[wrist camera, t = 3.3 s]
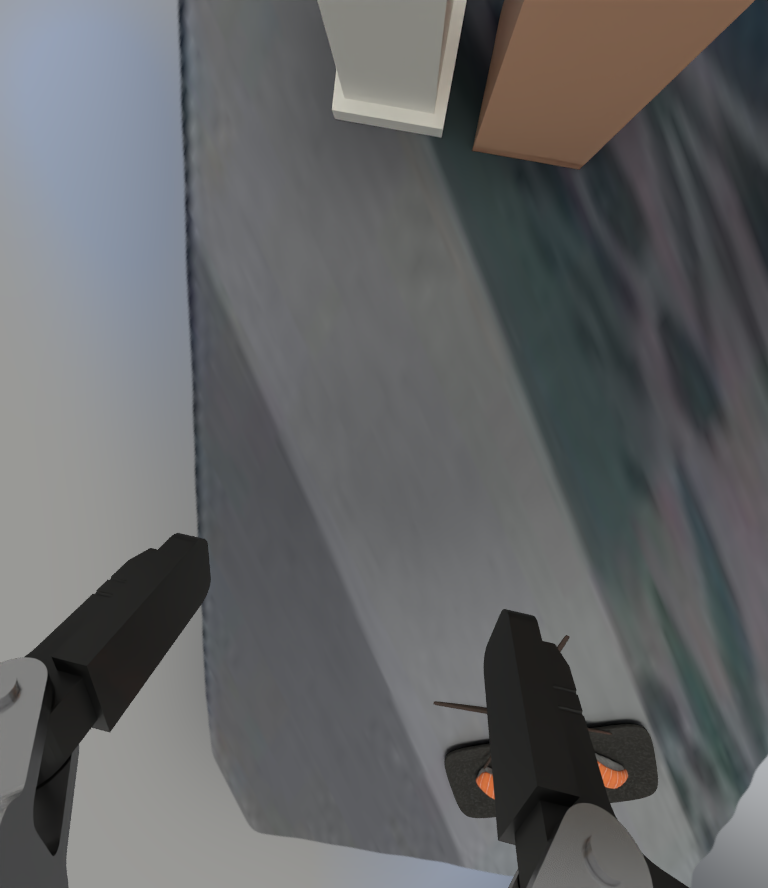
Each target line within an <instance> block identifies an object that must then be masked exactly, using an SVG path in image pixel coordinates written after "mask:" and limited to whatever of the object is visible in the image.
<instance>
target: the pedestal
mask: <svg viewBox="0 0 768 888" xmlns="http://www.w3.org/2000/svg"><path fill="white" fill-rule="evenodd" d="M317 1H318V5H319V8H320V12H321V16H322V19H323V23H324V26H325V30H326V33H327V37H328V41H329V44H330V48H331V51H332V55H333V59H334V62H335V66H336V77H335V86H334V95H333V104H332V112H333V114H334V117H335V119H338V120H343V121H349V122H355V123H361V124H366V125H372V126H378V127H383V128H389V129H395V130H400V131H406V132H412V133H417V134H423V135H429V136H435V137H440V138H442V132H443V127H444V121H445V116H446V110H447V105H448V100H449V94H450V89H451V83H452V78H453V72H454V67H455V61H456V56H457V51H458V45H459V40H460V34H461V29H462V23H463V18H464V12H465V7H466V2H467V0H317Z"/></svg>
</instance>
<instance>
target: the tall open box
mask: <svg viewBox="0 0 768 888" xmlns="http://www.w3.org/2000/svg"><path fill="white" fill-rule="evenodd" d="M754 1H755V0H504V3H503V7H502V10H501V14H500V18H499V23H498V28H497V33H496V38H495V43H494V48H493V53H492V57H491V62H490V67H489V72H488V77H487V82H486V87H485V92H484V96H483V101H482V106H481V111H480V116H479V121H478V126H477V130H476V135H475V140H474V145H473V150H472V151H477V152H483V153H488V154H494V155H500V156H506V157H511V158H517V159H523V160H528V161H534V162H540V163H545V164H551V165H557V166H562V167H568V168H574V169H580V168H581V167H582V166H583V165H584V164H585V163H587V162H588V161H589V160H590V159H591V158H592V157H593V156H594V155H595V154H596V153H597V152H598V151H599V150H600V149H601V148H602V147H603V146H604V145H605V144H606V143H607V142H608V141H609V140H610V139H611V138H612V137H614V136H615V135H616V134H617V133H618V132H619V131H620V130H621V129H622V128H623V127H624V126H625V125H626V124H627V123H628V122H629V121H630V120H631V119H632V118H633V117H634V116H635V115H636V114H637V113H638V112H639V111H640V110H642V109H643V108H644V107H645V106H646V105H647V104H648V103H649V102H650V101H651V100H652V99H653V98H654V97H655V96H656V95H657V94H658V93H659V92H660V91H661V90H662V89H663V88H664V87H665V86H666V85H667V84H669V83H670V82H671V81H672V80H673V79H674V78H675V77H676V76H677V75H678V74H679V73H680V72H681V71H682V70H683V69H684V68H685V67H686V66H687V65H688V64H689V63H690V62H691V61H692V60H693V59H694V58H696V57H697V56H698V55H699V54H700V53H701V52H702V51H703V50H704V49H705V48H706V47H707V46H708V45H709V44H710V43H711V42H712V41H713V40H714V39H715V38H716V37H717V36H718V35H719V34H720V33H721V32H723V31H724V30H725V29H726V28H727V27H728V26H729V25H730V24H731V23H732V22H733V21H734V20H735V19H736V18H737V17H738V16H739V15H740V14H741V13H742V12H743V11H744V10H745V9H746V8H747V7H748V6H750V5H751V4H752V3H753V2H754Z"/></svg>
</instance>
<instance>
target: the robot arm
mask: <svg viewBox="0 0 768 888" xmlns="http://www.w3.org/2000/svg"><path fill="white" fill-rule="evenodd" d="M210 581H211V576H210V565H209V553H208V543H207V541H206V540H205V539H202V538H198V537H194V536H189V535H185V534H180V533H176V534H174V535H172V536H171V537H170V538H169V539H168V540H167V541H166V542H165V543H164V544H163V545H162V546H161V547H160V548H159V549H158V550H156V549H152V548H150V549H148V550H146V551H144V552H143V553H141V554H139V555H137V556H135V557H134V558H132V559H130V560H128V561H127V562H126V563H125V564H124V565H123V566H122V567H121V568H120V569H119V570H118V571H117V572H116V573H114V574H113V575H112V576H111V579H110V580H107V581H106V582H105V583H104V584H103V585H102V586H101V587H100V588H99V589H98V590H97V592H96V593H95V594H92V595H91V596H90V597H89V598H88V599H87V600H86V601H85V602H84V603H83V604H82V605H81V606H80V607H79V608H78V609H76V610H75V611H74V612H73V613H72V614H71V615H70V616H69V617H68V618H67V619H66V620H65V621H64V622H63V623H62V624H60V625H59V626H58V627H57V628H56V629H55V630H54V631H53V632H52V633H51V634H50V635H49V636H48V637H47V638H46V639H45V640H44V641H43V642H41V643H40V644H39V645H38V646H37V647H36V648H35V649H34V650H33V651H32V652H30V653H29V654H28V655H26V656H25V657H23V658H15V659H11V660H7V661H4V662H1V663H0V888H68V878H67V870H66V855H67V854H66V853H67V845H68V837H69V829H70V821H71V812H72V803H73V796H74V788H75V779H76V772H77V764H78V755H79V743H80V742H81V740H82V739H83V738H84V737H85V735H86V734H87V732H88V731H89V730H90V729H91V727H92V728H96V729H99V730H104V731H107V732H110V731H111V730H112V729H113V727H114V726H115V724H116V723H117V722H118V720H119V719H120V717H121V716H122V715H123V713H124V712H125V710H126V709H127V708H128V706H129V705H130V703H131V702H132V701H133V699H134V698H135V696H136V695H137V694H138V692H139V691H140V689H141V688H142V687H143V685H144V684H145V682H146V681H147V680H148V678H149V677H150V675H151V674H152V673H153V671H154V670H155V668H156V667H157V666H158V664H159V663H160V661H161V660H162V659H163V657H164V655H165V654H166V653H167V652H168V650H169V649H170V647H171V646H172V645H173V643H174V642H175V640H176V639H177V638H178V636H179V635H180V633H181V632H182V630H183V629H184V628H185V626H186V625H187V624H188V622H189V621H190V619H191V618H192V617H193V615H194V614H195V612H196V611H197V610H198V608H199V607H200V605H201V604H202V603H203V601H204V599H205V597H206V595H207V593H208V590H209V587H210ZM484 680H485V692H486V703H487V715H488V727H489V739H490V750H491V762H492V774H493V786H494V797H495V809H496V821H497V833H498V841H502V842H506V843H509V844H513V845H516V853H517V862H518V870H517V871H516V873H515V875H514V877H513V879H512V881H511V883H510V885H509V887H508V888H689V887H687V886H686V885H684V884H683V883H681V882H680V881H678V880H677V879H675V878H674V877H672V876H671V875H669V874H668V873H666V872H665V871H663V870H662V869H660V868H659V867H658V866H656V865H655V864H654V863H652V862H651V861H650V860H649V859H648V858H647V857H646V856H645V855H644V854H643V853H642V852H641V850H640V849H639V847H638V845H637V843H636V842H635V840H634V839H633V837H632V836H631V835H630V833H629V832H628V831H627V829H626V828H625V827H624V826H623V825H622V824H621V823H620V822H619V821H618V820H617V818H616V816H615V814H614V812H613V810H612V807H611V805H610V802H609V799H608V796H607V792H606V789H605V786H604V782H603V779H602V775H601V772H600V769H599V765H598V762H597V759H596V755H595V752H594V748H593V745H592V742H591V738H590V735H589V731H588V728H587V725H586V721H585V718H584V716H582V708H581V704H580V701H579V698H578V695H576V687H575V684H574V681H573V677H572V674H571V671H570V667H569V665H568V664H567V662H566V661H565V659H564V657H563V656H562V654H561V653H560V651H559V650H558V648H557V647H556V645H555V644H553V643H549V642H544V641H542V638H541V634H540V630H539V626H538V622H537V620H536V618H535V617H534V616H532V615H528V614H524V613H519V612H515V611H511V610H506V609H503V610H502V612H501V614H500V616H499V618H498V621H497V623H496V625H495V628H494V630H493V632H492V635H491V637H490V639H489V642H488V644H487V647H486V651H485V656H484Z"/></svg>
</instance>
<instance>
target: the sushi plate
mask: <svg viewBox="0 0 768 888" xmlns="http://www.w3.org/2000/svg"><path fill="white" fill-rule="evenodd" d="M568 639H569V636H567V635H566V636H565V637H564V638H563V640H562V641H561V642H560V644H559V645H558V647H557V648H558V650H559V651H560V652H561V650H562V649H563V647H564V645H565V644H566V642H567V641H568ZM434 704H435V705H439V706H445V707H450V708H456V709H462V710H468V711H474V712H479V713H485V714H487V708H484V707H478V706H470V705H462V704H453V703H445V702H436V701H435V702H434ZM588 731H589V735H590V738H591V742H592V745H593V748H594V752H595V755H596V759H597V762H598V765H599V769H600V772H601V775H602V779H603V782H604V786H605V789H606V792H607V796H608V799H609V802H610V803H614V802H622V801H629V800H635V799H640V798H644V797H647V796H650V795H652V794H653V793H654V792H655V791H656V789H657V785H658V775H657V766H656V760H655V754H654V748H653V744H652V740H651V737H650V735H649V733H648V731H647V730H646V729H645V728H644V727H642V726H640V725H636V724H620V725H611V726H604V727H597V728H588ZM445 769H446V773H447V777H448V780H449V783H450V786H451V788H452V791H453V794H454V797H455V799H456V802H457V804H458V806H459V808H460V810H461V811H462V812H463V813H464V814H465V815H466V816H468V817H472V818H490V817H496V809H495V797H494V786H493V774H492V762H491V750H490V744H484V745H477V746H471V747H466V748H461V749H457V750H454V751H452V752H450V753H449V754H447V756H446V758H445Z"/></svg>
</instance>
